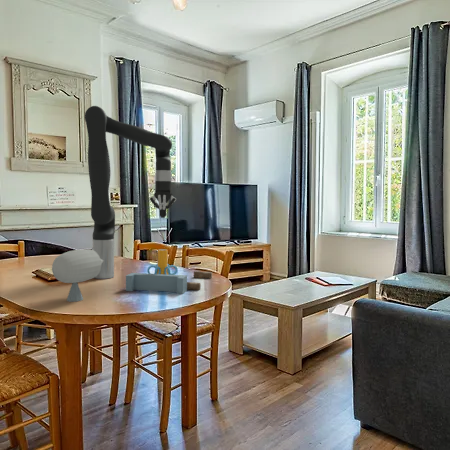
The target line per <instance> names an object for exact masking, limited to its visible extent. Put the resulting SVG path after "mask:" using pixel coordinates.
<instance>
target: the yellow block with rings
mask: <svg viewBox="0 0 450 450" xmlns="http://www.w3.org/2000/svg"><path fill="white" fill-rule="evenodd" d="M168 251H169V250H168V249H166V248H164V249H163V248H160V249H157V263H156V264H155V265H150V266H148V267H147V272H146V273H147V274H152V273H151V272H150V270H151V268H154V272H153V274H167V275H177V273H178V267H177V266H176V265H174V264H171V265H170V264H169V263H168V262H169V261H168V257H169V256H168V254H169V252H168ZM171 268H174V269H175V271H174V272H173V273H172V272H171Z"/></svg>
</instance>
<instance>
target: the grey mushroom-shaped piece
mask: <svg viewBox="0 0 450 450" xmlns="http://www.w3.org/2000/svg"><path fill="white" fill-rule="evenodd" d="M102 262H103V260H102V259H101V258H100V257H99V255H98V254H97V253H96V252H95V251H94V250H93V249H88V248H85V249H75V250H74V249H73V250H69V251H67V252H66V251H65V252H63V253H61V254H60V255H58V256H57V257H55V259H54V260H53V262H52V264H51V271H52V272H51V273H52V274H53V277H54V278H55V279H56V280H57V281H59V282H61V283H66V284H71V286H70V290H69V292H68V294H67V295H68V296H67V298H66V302H69V303H71V302H81V301H83V300H84V297H83V294H82V291H81V288H80V286H79V284H78V283H83V282H85V281H88V280H91V279H95V278H94V277H96V276H97V275H98V274H99V273H100V270H101V264H102Z"/></svg>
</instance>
